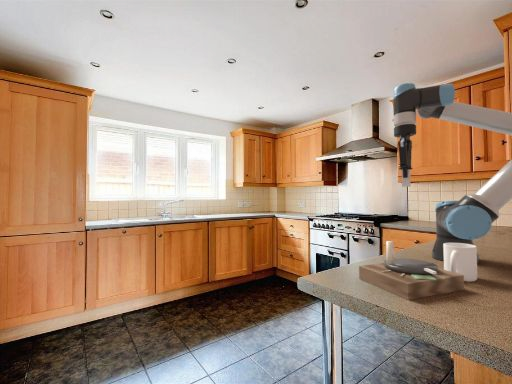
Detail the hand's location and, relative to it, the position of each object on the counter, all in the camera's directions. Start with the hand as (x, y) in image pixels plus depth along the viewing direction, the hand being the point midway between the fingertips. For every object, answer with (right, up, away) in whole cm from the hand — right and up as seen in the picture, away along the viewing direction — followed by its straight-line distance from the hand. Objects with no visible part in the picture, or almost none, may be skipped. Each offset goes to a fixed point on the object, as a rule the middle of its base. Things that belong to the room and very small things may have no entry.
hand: (406, 186), depth 102 cm
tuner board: (-13, -29, -24) cm, 40 cm away
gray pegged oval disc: (-11, -25, -24) cm, 36 cm away
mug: (+5, -29, -20) cm, 36 cm away
